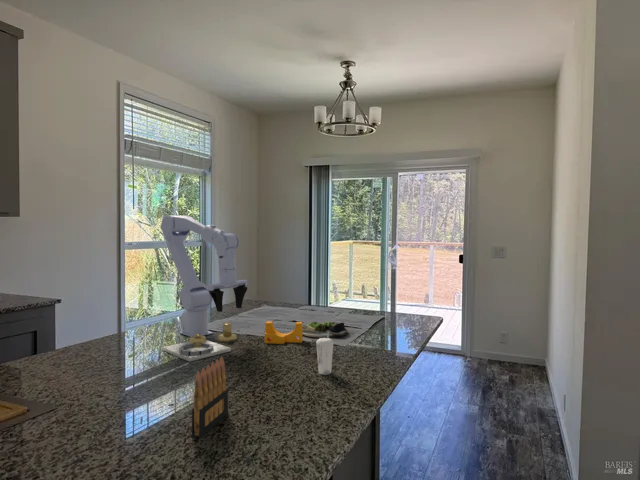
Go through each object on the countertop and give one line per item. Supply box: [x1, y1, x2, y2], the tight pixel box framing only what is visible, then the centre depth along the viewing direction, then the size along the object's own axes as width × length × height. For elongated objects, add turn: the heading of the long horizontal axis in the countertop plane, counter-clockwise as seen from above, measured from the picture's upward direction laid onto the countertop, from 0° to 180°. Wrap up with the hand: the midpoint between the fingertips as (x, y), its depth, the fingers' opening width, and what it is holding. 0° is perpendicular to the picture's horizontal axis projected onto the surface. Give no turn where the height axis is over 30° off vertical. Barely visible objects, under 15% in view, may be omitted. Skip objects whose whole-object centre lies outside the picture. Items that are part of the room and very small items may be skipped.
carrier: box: [162, 334, 232, 363], centre depth 133 cm, size 16×14×4 cm
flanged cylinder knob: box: [217, 322, 237, 343], centre depth 146 cm, size 6×6×6 cm
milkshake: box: [315, 332, 335, 376], centre depth 113 cm, size 5×5×10 cm
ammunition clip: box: [191, 356, 229, 438], centre depth 84 cm, size 11×2×12 cm, turn 164°
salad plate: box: [302, 321, 348, 339], centre depth 155 cm, size 19×18×5 cm
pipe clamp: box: [264, 320, 303, 345], centre depth 143 cm, size 12×4×6 cm, turn 86°
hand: (229, 309), depth 145 cm, fingers open, 7 cm apart
